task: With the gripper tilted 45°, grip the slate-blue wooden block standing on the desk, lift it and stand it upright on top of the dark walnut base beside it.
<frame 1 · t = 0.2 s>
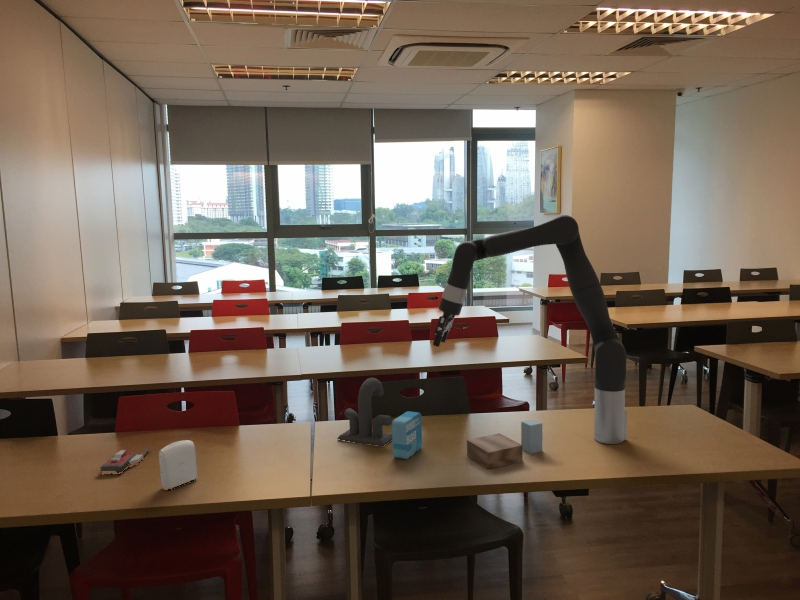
hand: (438, 343, 211), 30 cm above the table, tool tilted 20°, fingers open, 8 cm apart
faucet: (371, 436, 211), on the table
walkie-talkie: (127, 465, 193), on the table
slate block: (531, 449, 194), on the table
photo printer: (179, 484, 176), on the table
light blue box: (407, 453, 195), on the table
walnut base: (494, 458, 188), on the table
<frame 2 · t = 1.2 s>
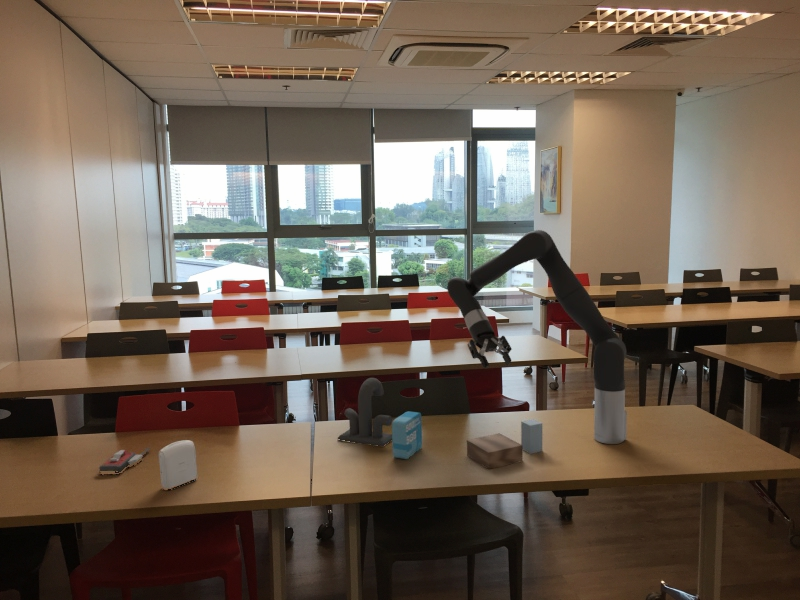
hand: (498, 365, 202), 25 cm above the table, tool tilted 45°, fingers open, 8 cm apart
nothing on the table moved.
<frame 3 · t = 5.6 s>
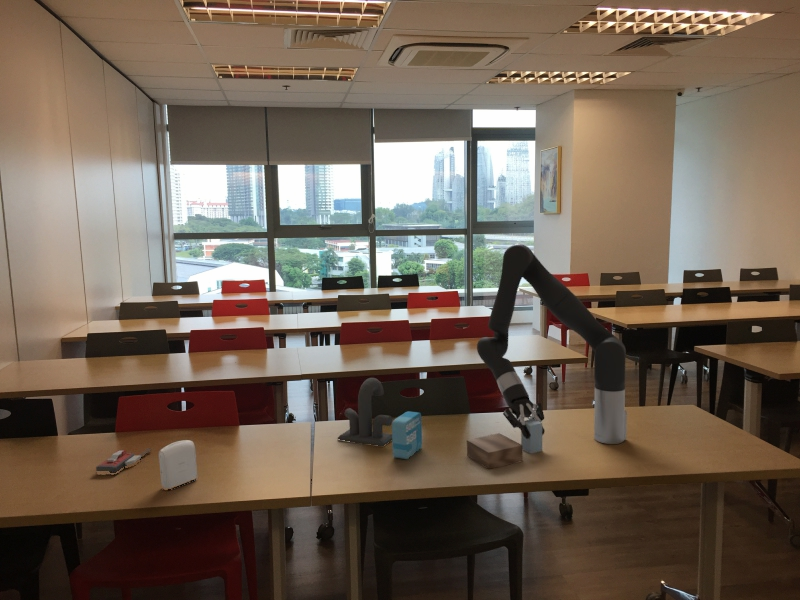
hand: (535, 435, 192), 5 cm above the table, tool tilted 45°, fingers closed on slate block, 4 cm apart
slate block: (531, 449, 194), on the table, touching gripper
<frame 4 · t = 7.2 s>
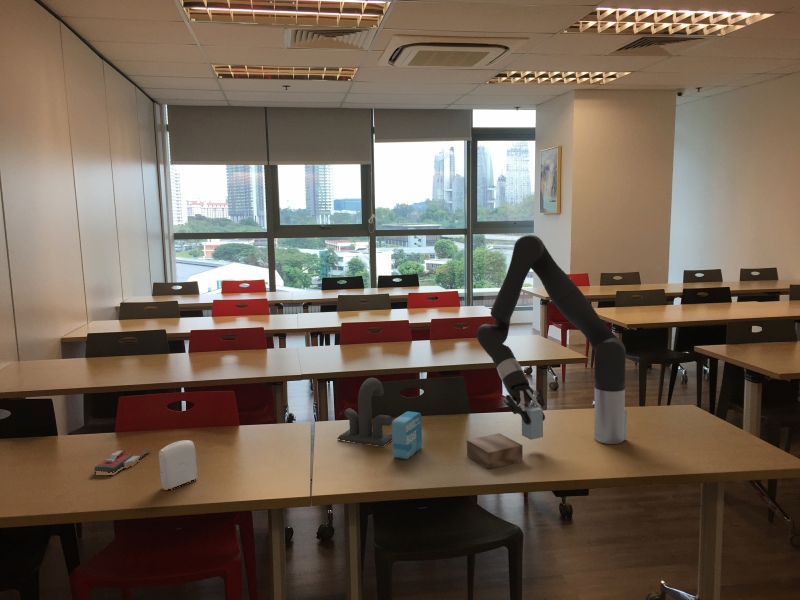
hand: (536, 421, 191), 10 cm above the table, tool tilted 45°, fingers closed on slate block, 4 cm apart
slate block: (532, 436, 194), point 4 cm above the table, touching gripper
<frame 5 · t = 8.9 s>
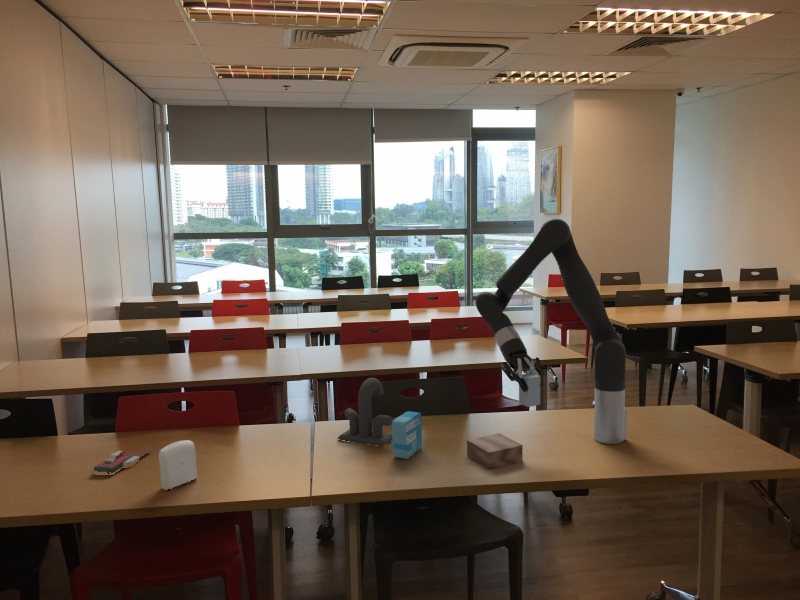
hand: (533, 389, 190), 20 cm above the table, tool tilted 45°, fingers closed on slate block, 4 cm apart
slate block: (529, 403, 192), point 15 cm above the table, touching gripper
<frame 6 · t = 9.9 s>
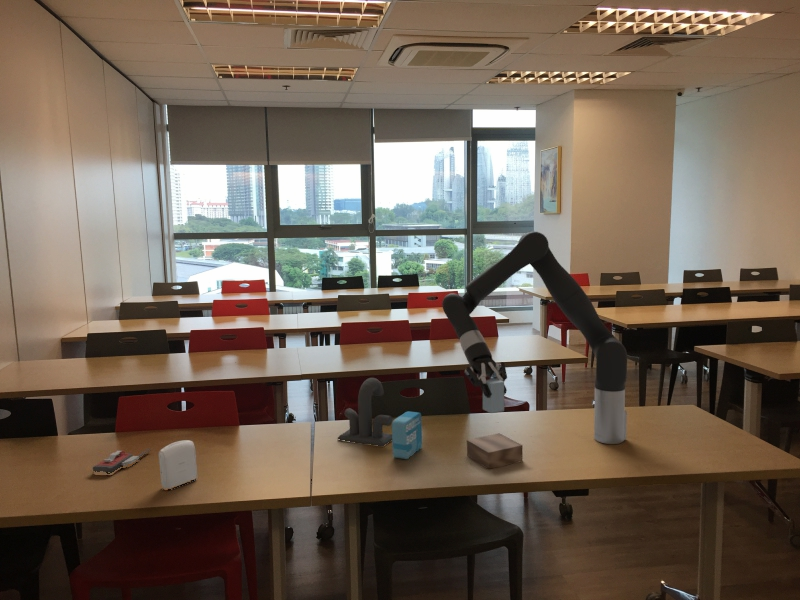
hand: (496, 395, 184), 20 cm above the table, tool tilted 45°, fingers closed on slate block, 4 cm apart
slate block: (493, 410, 187), point 15 cm above the table, touching gripper
when the fingers open (11 cm above the table, at t = 12.5 s): slate block stays where it is, resting on walnut base.
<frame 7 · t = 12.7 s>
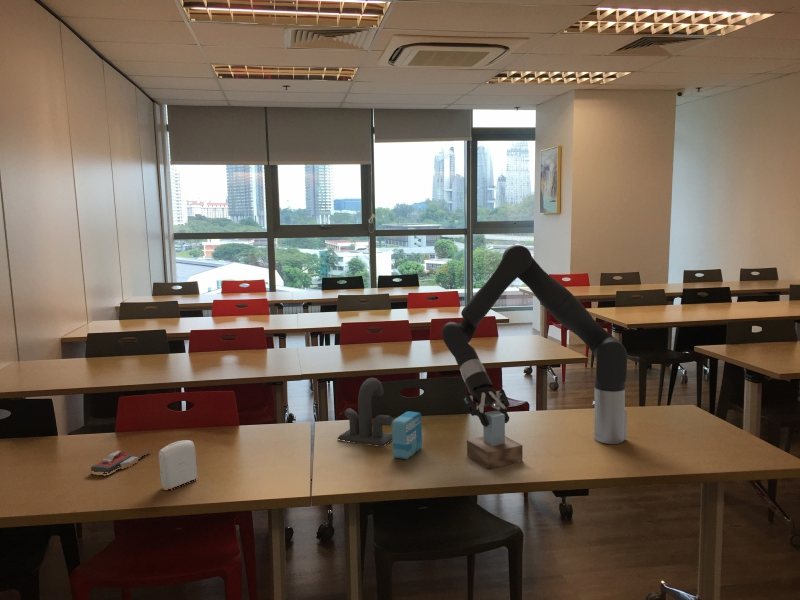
hand: (497, 423, 185), 11 cm above the table, tool tilted 45°, fingers open, 6 cm apart
slate block: (494, 442, 188), point 5 cm above the table, touching walnut base
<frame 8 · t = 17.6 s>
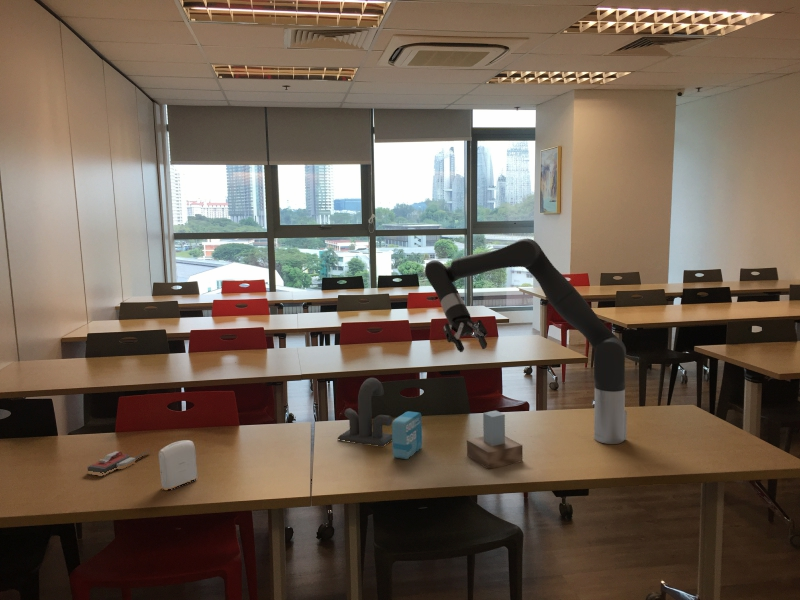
hand: (473, 349, 200), 31 cm above the table, tool tilted 45°, fingers open, 8 cm apart
at the end: slate block inside the target area on the walnut base (0.1 cm from its centre), point 5.0 cm above the walnut base's base; slate block tilted 0°; the gripper is holding nothing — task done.
